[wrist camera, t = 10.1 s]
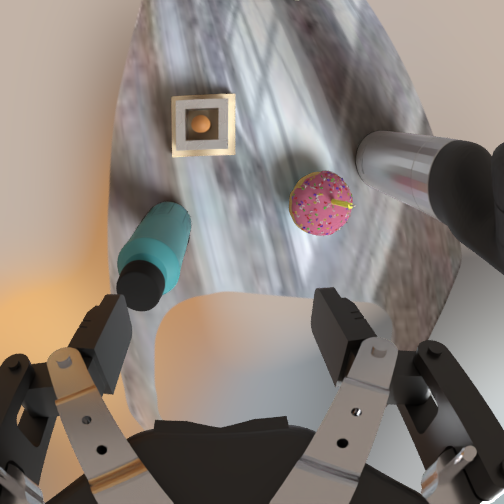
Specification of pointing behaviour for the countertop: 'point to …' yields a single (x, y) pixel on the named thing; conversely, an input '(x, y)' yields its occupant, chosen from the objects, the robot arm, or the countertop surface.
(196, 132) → the keeper
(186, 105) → the link
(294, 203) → the cupcake
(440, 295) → the countertop surface
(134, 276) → the beverage bottle
